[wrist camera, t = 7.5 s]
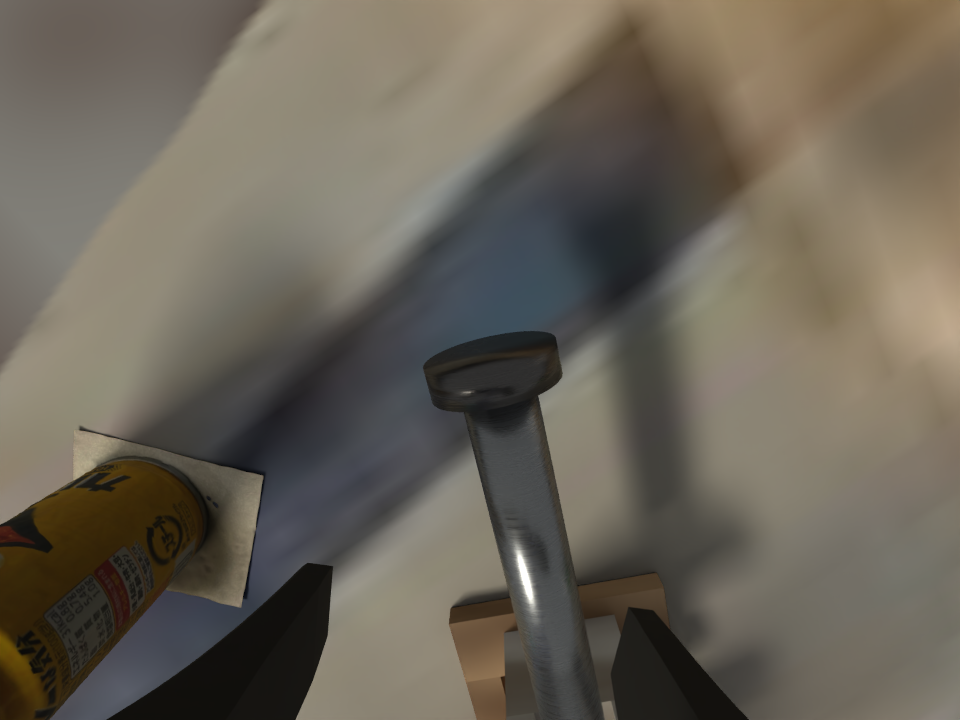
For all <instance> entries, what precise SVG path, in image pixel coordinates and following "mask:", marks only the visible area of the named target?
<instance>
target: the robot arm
mask: <svg viewBox="0 0 960 720" xmlns="http://www.w3.org/2000/svg"><path fill="white" fill-rule="evenodd" d="M332 571H333V566H327V565H320V564H313V563H307V564H305V565H304V566H303V567H302V568H300V569H299V570H298V571H297V572H296V573H295V574H294V575H293V576H292V577H291V578H290V579H289V580H288V581H287V582H286V583H285V584H284V585H283V586H282V587H281V588H280V589H279V590H278V591H277V592H276V593H275V594H273V595H272V596H271V597H270V598H269V599H268V600H267V601H266V602H265V603H264V604H263V605H261V606H260V607H259V608H258V609H257V610H256V611H255V612H254V613H252V614H251V615H250V616H249V617H248V618H247V619H246V620H244V621H243V622H242V623H241V624H240V625H239V626H238V627H236V628H235V629H234V630H233V631H232V632H230V633H229V634H228V635H227V636H225V637H224V638H223V639H222V640H220V641H219V642H218V643H217V644H215V645H214V646H213V647H212V648H210V649H209V650H208V651H207V652H206V653H204V654H203V655H202V656H200V657H199V658H198V659H196V660H195V661H194V662H192V663H191V664H190V665H188V666H187V667H186V668H184V669H183V670H182V671H180V672H179V673H177V674H176V675H175V676H173V677H172V678H170V679H169V680H167V681H166V682H164V683H163V684H162V685H160V686H159V687H157V688H156V689H154V690H153V691H151V692H150V693H148V694H147V695H145V696H144V697H142V698H140V699H139V700H137V701H136V702H134V703H133V704H131V705H130V706H128V707H126V708H125V709H123V710H121V711H120V712H118V713H117V714H115V715H113V716H112V717H110V718H108V719H107V720H296V717H297V715H298V713H299V711H300V708H301V706H302V704H303V702H304V699H305V697H306V695H307V693H308V690H309V688H310V686H311V683H312V681H313V678H314V675H315V672H316V669H317V666H318V664H319V661H320V657H321V654H322V651H323V648H324V645H325V642H326V639H327V636H328V623H329V610H330V597H331V584H332ZM611 680H612V687H613V694H614V700H615V706H616V712H617V717H618V720H749V719H748V718H747V717H746V716H745V715H744V714H743V713H742V712H741V711H740V710H739V709H738V708H737V707H736V706H735V705H734V703H733V702H732V701H731V700H730V699H729V698H728V697H727V696H726V695H725V694H724V692H723V691H722V690H721V689H720V688H719V687H718V686H717V685H716V683H715V682H714V681H713V680H712V679H711V678H710V677H709V675H708V674H707V673H706V672H705V671H704V670H703V669H702V667H701V666H700V665H699V664H698V663H697V661H696V660H695V659H694V658H693V657H692V656H691V654H690V653H689V652H688V651H687V650H686V648H685V647H684V646H683V645H682V644H681V642H680V641H679V640H678V639H677V638H676V636H675V635H674V634H673V633H672V632H671V630H670V629H669V628H668V627H667V626H666V624H665V623H664V622H663V621H662V620H661V618H660V617H659V616H658V615H657V614H656V613H655V612H654V610H649V609H641V608H634V607H628V610H627V614H626V618H625V621H624V625H623V629H622V633H621V636H620V640H619V644H618V648H617V651H616V655H615V659H614V663H613V666H612V670H611Z"/></svg>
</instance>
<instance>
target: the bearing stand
mask: <svg viewBox="0 0 960 720" xmlns="http://www.w3.org/2000/svg"><path fill="white" fill-rule="evenodd" d="M578 591H579V596H580V601H581V605H582V610H583V615H584V620H585V625H586V630H587V634H588V639H589V644H590V649H591V654H592V659H593V663H594V668H595V673H596V678H597V683H598V688H599V693H600V697H601V702H602V707H603V712H604V717H605V720H618V717H617V712H616V706H615V700H614V694H613V687H612V680H611V670H612V666H613V663H614V659H615V655H616V651H617V648H618V644H619V640H620V636H621V633H622V629H623V625H624V621H625V618H626V614H627V610H628V607H634V608H641V609H649V610H654V612H655V613H656V614H657V615H658V616H659V617H660V618H661V620H662V621H663V622H664V623H665V624H666V626H667V627H668V628H669V629H670V625H669V618H668V612H667V605H666V599H665V592H664V587H663V585H662V583H661V581H660V579H659V577H658V574H657V573H652V574H646V575H640V576H634V577H628V578H623V579H617V580H611V581H605V582H599V583H594V584H588V585H582V586H578ZM449 626H450V629H451V633H452V636H453V639H454V643H455V646H456V650H457V653H458V656H459V660H460V663H461V667H462V670H463V674H464V677H465V680H466V684H467V687H468V691H469V694H470V697H471V701H472V704H473V708H474V711H475V714H476V718H477V720H541V719H540V715H539V711H538V707H537V703H536V699H535V695H534V691H533V687H532V683H531V679H530V675H529V671H528V667H527V663H526V659H525V655H524V651H523V647H522V643H521V639H520V635H519V631H518V627H517V623H516V619H515V615H514V611H513V607H512V603H511V599H510V598H507V599H501V600H495V601H489V602H483V603H478V604H472V605H466V606H460V607H454V608H451V610H450V619H449Z"/></svg>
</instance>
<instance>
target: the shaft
mask: <svg viewBox="0 0 960 720" xmlns="http://www.w3.org/2000/svg"><path fill="white" fill-rule="evenodd" d="M423 370H424V373H425V377H426V381H427V385H428V388H429V392H430V396H431V400H432V403H433V405H434V406H436V407H437V408H439V409H442V410H446V411H452V412H464V415H465V419H466V423H467V427H468V431H469V435H470V439H471V443H472V447H473V451H474V455H475V459H476V463H477V467H478V471H479V475H480V479H481V483H482V487H483V491H484V495H485V499H486V503H487V507H488V511H489V515H490V519H491V523H492V527H493V531H494V535H495V539H496V543H497V547H498V551H499V555H500V559H501V563H502V567H503V571H504V575H505V579H506V583H507V587H508V591H509V595H510V599H511V603H512V607H513V611H514V615H515V619H516V623H517V627H518V631H519V635H520V639H521V643H522V647H523V651H524V655H525V659H526V663H527V667H528V671H529V675H530V679H531V683H532V687H533V691H534V695H535V699H536V703H537V707H538V711H539V715H540V719H541V720H605V717H604V712H603V707H602V702H601V697H600V693H599V688H598V683H597V678H596V673H595V668H594V663H593V659H592V654H591V649H590V644H589V639H588V634H587V630H586V625H585V620H584V615H583V610H582V605H581V601H580V596H579V591H578V586H577V581H576V576H575V572H574V567H573V562H572V557H571V552H570V547H569V543H568V538H567V533H566V528H565V523H564V518H563V514H562V509H561V504H560V499H559V494H558V489H557V485H556V480H555V475H554V470H553V465H552V460H551V455H550V451H549V446H548V441H547V436H546V431H545V426H544V422H543V417H542V412H541V407H540V402H539V397H538V395H539V394H542V393H543V392H545V391H547V390H549V389H550V388H552V387H553V386H554V385H556V384H557V383H558V382H559V381H560V379H561V377H562V374H563V373H562V368H561V362H560V357H559V352H558V347H557V341H556V337H555V336H554V335H552V334H550V333H547V332H539V331H524V332H513V333H505V334H499V335H494V336H489V337H485V338H480V339H477V340H473V341H469V342H466V343H463V344H460V345H457V346H454V347H452V348H449V349H447V350H445V351H442V352H440V353H438V354H437V355H435V356H433V357H432V358H430V359H429V360H428V361H427V362H426V363H425V364H424V366H423Z"/></svg>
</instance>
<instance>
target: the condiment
mask: <svg viewBox="0 0 960 720" xmlns="http://www.w3.org/2000/svg"><path fill="white" fill-rule="evenodd" d="M73 453H74V460H73V465H74V479H73V481H72V482H70V483H68V484H67V485H65V486H64V487H62V488H60V489H59V490H57V491H55V492H54V493H52V494H50V495H48V496H47V497H45V498H44V499H42V500H41V501H39V502H37V503H35V504H33V505H31V506H30V507H29V508H27V509H26V510H25V511H23V512H22V513H19V514H18V515H17V516H15V517H13V518H12V519H10V520H8V521H7V522H5V523H3V524H1V525H0V720H49V719H50V718H51V717H52V716H53V715H54V714H55V713H56V712H57V710H58V709H59V708H60V707H61V706H62V705H63V704H64V703H65V701H66V700H67V699H68V698H69V697H70V696H71V695H72V694H73V693H74V692H75V690H76V689H77V688H78V687H79V685H80V684H81V683H82V682H83V681H84V680H85V679H86V678H87V677H88V675H89V674H90V673H91V672H92V671H93V670H94V669H95V667H96V666H97V665H98V664H99V663H100V662H101V661H102V660H103V659H104V658H105V656H106V655H107V654H108V653H109V652H110V651H111V650H112V648H113V647H114V646H115V645H116V644H117V643H118V642H119V641H120V639H121V638H122V637H123V636H124V635H125V634H126V633H127V632H128V631H129V630H130V628H131V627H132V626H133V625H134V624H135V623H136V622H137V621H138V619H139V618H140V617H141V616H142V615H143V614H144V613H145V612H146V610H147V609H148V608H149V607H150V606H151V605H152V604H153V603H154V602H155V600H156V599H157V598H158V597H159V596H160V595H161V594H162V592H163V591H164V590H165V589H166V590H169V591H173V592H182V593H186V594H188V595H196V596H200V597H203V598H207V599H210V600H213V601H215V602H218V603H221V604H228V605H232V606H236V607H241V604H242V599H243V593H244V590H245V584H246V579H247V574H248V566H249V563H250V558H251V551H252V545H253V539H254V534H255V530H256V518H257V513H258V508H259V503H260V494H261V488H262V481H263V475H258V474H254V473H248V472H244V471H240V470H237V469H234V468H230V467H224V466H218V465H215V464H212V463H208V462H205V461H200V460H195V459H192V458H189V457H185V456H181V455H178V454H174V453H172V452H168V451H164V450H161V449H157V448H152V447H148V446H143V445H140V444H136V443H131V442H128V441H124V440H120V439H116V438H110V437H106V436H103V435H100V434H95V433H90V432H86V431H77V430H74V450H73ZM207 496H210V498H211V501H208V499H207V498H206V497H207ZM213 502H216V503H217V504H218V508H216V507H215V506H214V505H213ZM185 567H186V568H185Z"/></svg>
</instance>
